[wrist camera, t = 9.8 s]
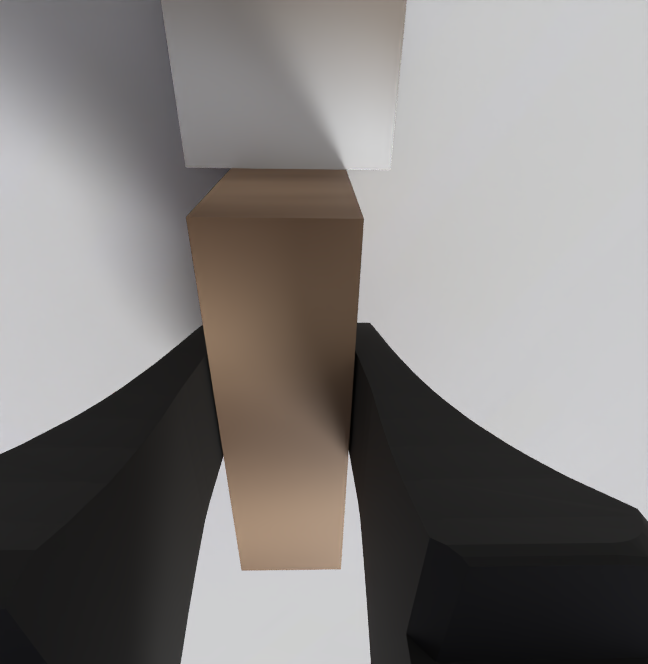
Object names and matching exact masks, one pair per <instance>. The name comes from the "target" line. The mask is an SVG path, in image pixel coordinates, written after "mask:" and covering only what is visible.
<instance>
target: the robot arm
mask: <svg viewBox="0 0 648 664" xmlns="http://www.w3.org/2000/svg"><path fill="white" fill-rule="evenodd" d="M349 454H350V459H351V465H352V471H353V476H354V482H355V487H356V493H357V498H358V505H359V512H360V520H361V532H362V544H363V557H364V570H365V583H366V597H367V610H368V625H369V640H370V655H371V664H648V521H647V520H646V519H645V517H644V516H643V515H642V514H641V513H640V512H639V510H638V509H636V508H634V507H632V506H630V505H628V504H626V503H623V502H621V501H619V500H617V499H615V498H612V497H610V496H608V495H606V494H604V493H602V492H599V491H597V490H595V489H593V488H591V487H589V486H586V485H584V484H582V483H580V482H578V481H575V480H573V479H571V478H569V477H567V476H565V475H563V474H561V473H559V472H557V471H555V470H554V469H552V468H550V467H548V466H546V465H544V464H542V463H540V462H539V461H537V460H535V459H533V458H531V457H529V456H527V455H526V454H524V453H522V452H521V451H519V450H517V449H515V448H514V447H512V446H510V445H508V444H507V443H505V442H504V441H502V440H501V439H499V438H497V437H496V436H494V435H493V434H491V433H490V432H488V431H486V430H485V429H483V428H482V427H480V426H479V425H477V424H476V423H474V422H473V421H471V420H470V419H469V418H467V417H466V416H464V415H463V414H462V413H461V412H459V411H458V410H457V409H455V408H454V407H453V406H451V405H450V404H449V403H447V402H446V401H445V400H444V399H442V398H441V397H440V396H439V395H438V394H436V393H435V392H434V391H433V390H432V389H431V388H430V387H428V386H427V385H426V384H425V383H424V382H423V381H422V380H421V379H420V378H419V377H418V376H417V375H416V374H415V373H414V372H413V371H412V370H411V369H410V368H409V367H408V366H407V365H406V364H405V363H404V362H403V361H402V360H401V359H400V358H399V357H398V355H397V354H396V353H395V352H394V351H393V350H392V349H391V347H390V346H389V345H388V344H387V343H386V342H385V340H384V339H383V338H382V337H381V336H380V334H379V333H378V332H377V331H376V329H375V328H374V327H373V326H372V325H371V324H370V323H357V329H356V345H355V360H354V375H353V390H352V405H351V421H350V436H349ZM222 459H223V449H222V442H221V436H220V430H219V424H218V417H217V411H216V405H215V398H214V392H213V386H212V379H211V373H210V367H209V360H208V354H207V348H206V341H205V335H204V329H203V325H202V326H200V327H199V328H198V329H197V330H195V331H194V332H193V333H192V334H191V335H189V336H188V337H187V338H186V339H185V340H183V341H182V342H181V343H180V344H179V345H177V346H176V347H175V348H174V349H173V350H171V351H170V352H169V353H168V354H166V355H165V356H164V357H163V358H161V359H160V360H159V361H158V362H156V363H155V364H154V365H152V366H151V367H150V368H148V369H147V370H146V371H144V372H143V373H141V374H140V375H139V376H137V377H136V378H135V379H133V380H132V381H131V382H129V383H128V384H126V385H125V386H124V387H122V388H121V389H119V390H118V391H116V392H115V393H113V394H112V395H110V396H109V397H107V398H105V399H104V400H102V401H101V402H99V403H97V404H96V405H94V406H92V407H91V408H89V409H87V410H86V411H84V412H82V413H81V414H79V415H77V416H75V417H74V418H72V419H70V420H68V421H66V422H64V423H62V424H60V425H58V426H56V427H55V428H53V429H51V430H49V431H47V432H45V433H43V434H41V435H39V436H37V437H35V438H33V439H31V440H29V441H27V442H25V443H23V444H21V445H19V446H17V447H15V448H13V449H11V450H9V451H6V452H4V453H2V454H0V664H180V663H181V657H182V650H183V644H184V638H185V631H186V625H187V619H188V612H189V606H190V600H191V595H192V589H193V583H194V577H195V572H196V566H197V560H198V555H199V550H200V544H201V539H202V534H203V528H204V523H205V519H206V515H207V511H208V507H209V503H210V499H211V496H212V492H213V489H214V486H215V482H216V479H217V475H218V472H219V469H220V465H221V462H222Z"/></svg>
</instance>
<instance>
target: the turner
mask: <svg viewBox="0 0 648 664" xmlns="http://www.w3.org/2000/svg"><path fill="white" fill-rule="evenodd" d="M406 1H407V0H161V6H162V13H163V19H164V26H165V33H166V39H167V46H168V53H169V59H170V66H171V73H172V80H173V86H174V93H175V100H176V106H177V113H178V120H179V127H180V133H181V140H182V147H183V153H184V160H185V167H186V168H231V169H230V170H229V171H228V172H227V173H226V174H225V175H224V177H223V178H222V179H221V180H220V181H219V182H218V183H217V184H216V185H215V186H214V187H213V188H212V189H211V191H210V192H209V193H208V194H207V195H206V196H205V197H204V198H203V199H202V200H201V201H200V202H199V203H198V205H197V206H196V207H195V208H194V209H193V210H192V211H191V212H190V213H189V214H188V215H187V216H186V221H187V227H188V234H189V240H190V246H191V253H192V259H193V265H194V272H195V278H196V284H197V291H198V297H199V303H200V310H201V316H202V322H203V329H204V335H205V341H206V348H207V354H208V360H209V367H210V373H211V379H212V386H213V392H214V398H215V405H216V411H217V417H218V424H219V430H220V436H221V442H222V449H223V455H224V461H225V468H226V474H227V480H228V487H229V493H230V499H231V506H232V512H233V518H234V525H235V531H236V537H237V544H238V550H239V556H240V563H241V569H242V570H315V569H341V557H342V542H343V527H344V512H345V496H346V481H347V466H348V451H349V436H350V421H351V405H352V390H353V375H354V360H355V345H356V329H357V314H358V299H359V284H360V269H361V254H362V238H363V223H364V218H363V215H362V212H361V210H360V207H359V204H358V201H357V199H356V196H355V193H354V190H353V188H352V185H351V182H350V179H349V177H348V174H347V171H346V170H391V161H392V150H393V139H394V129H395V118H396V107H397V97H398V86H399V76H400V65H401V54H402V44H403V33H404V22H405V12H406Z"/></svg>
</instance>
